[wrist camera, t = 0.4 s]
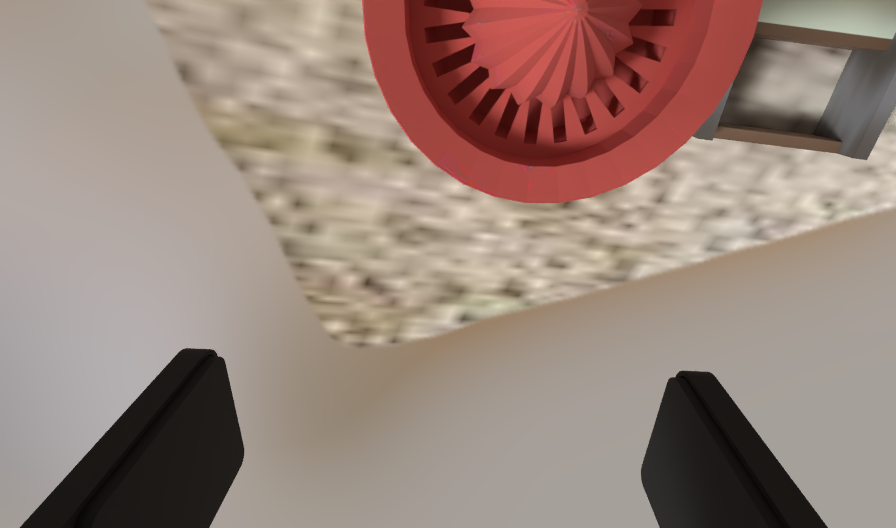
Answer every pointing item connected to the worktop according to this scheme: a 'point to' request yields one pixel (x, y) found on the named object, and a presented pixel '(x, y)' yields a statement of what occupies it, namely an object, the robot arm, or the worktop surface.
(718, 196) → the worktop surface
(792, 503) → the robot arm
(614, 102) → the citrus juicer
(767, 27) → the box
